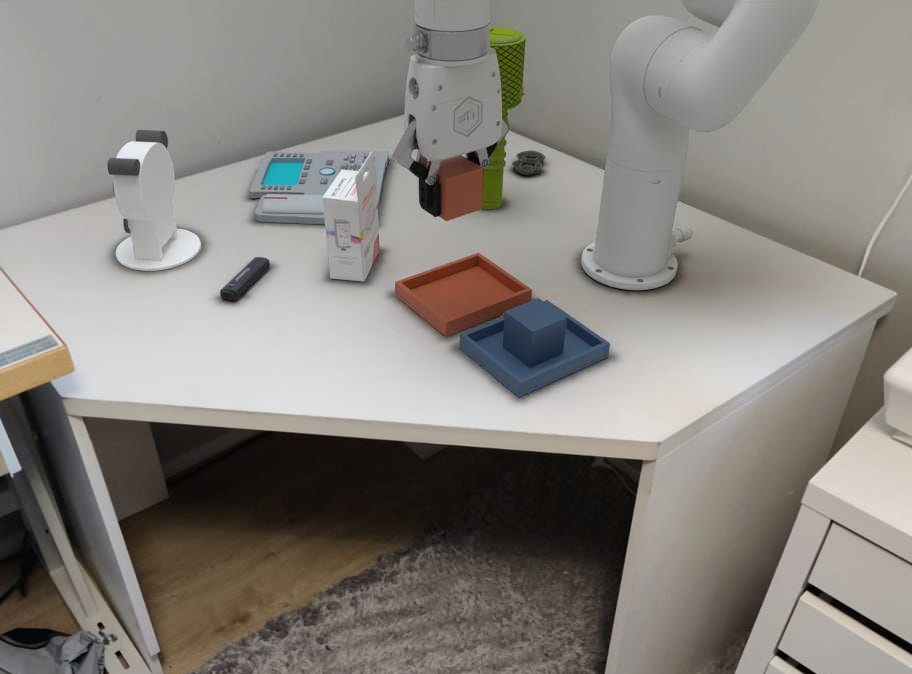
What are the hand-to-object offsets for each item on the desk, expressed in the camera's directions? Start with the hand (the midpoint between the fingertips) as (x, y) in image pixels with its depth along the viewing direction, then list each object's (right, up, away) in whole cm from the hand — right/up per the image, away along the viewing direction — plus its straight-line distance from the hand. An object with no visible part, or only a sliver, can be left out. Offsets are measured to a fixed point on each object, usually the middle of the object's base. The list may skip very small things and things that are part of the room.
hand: (451, 203), depth 100 cm
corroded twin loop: (+13, +15, +43) cm, 48 cm away
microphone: (+7, +7, +33) cm, 34 cm away
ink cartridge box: (-13, -4, +19) cm, 23 cm away
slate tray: (+10, -17, +3) cm, 20 cm away
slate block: (+9, -16, +3) cm, 19 cm away
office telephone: (-20, +10, +37) cm, 43 cm away
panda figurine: (-40, -2, +22) cm, 46 cm away
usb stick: (-26, -7, +15) cm, 31 cm away
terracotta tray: (+2, -10, +12) cm, 16 cm away
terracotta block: (0, 0, 0) cm, 0 cm away
